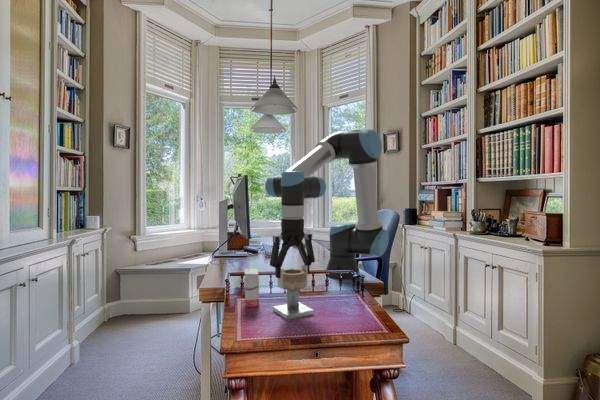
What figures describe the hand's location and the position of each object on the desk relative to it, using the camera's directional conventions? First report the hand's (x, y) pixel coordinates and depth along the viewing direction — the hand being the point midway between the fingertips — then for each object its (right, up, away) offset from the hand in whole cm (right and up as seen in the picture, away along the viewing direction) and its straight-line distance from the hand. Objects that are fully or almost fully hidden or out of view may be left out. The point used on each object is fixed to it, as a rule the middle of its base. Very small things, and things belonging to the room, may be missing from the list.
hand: (292, 285), depth 143 cm
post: (0, -9, +1) cm, 9 cm away
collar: (0, 0, 0) cm, 0 cm away
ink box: (-15, -9, +11) cm, 20 cm away
